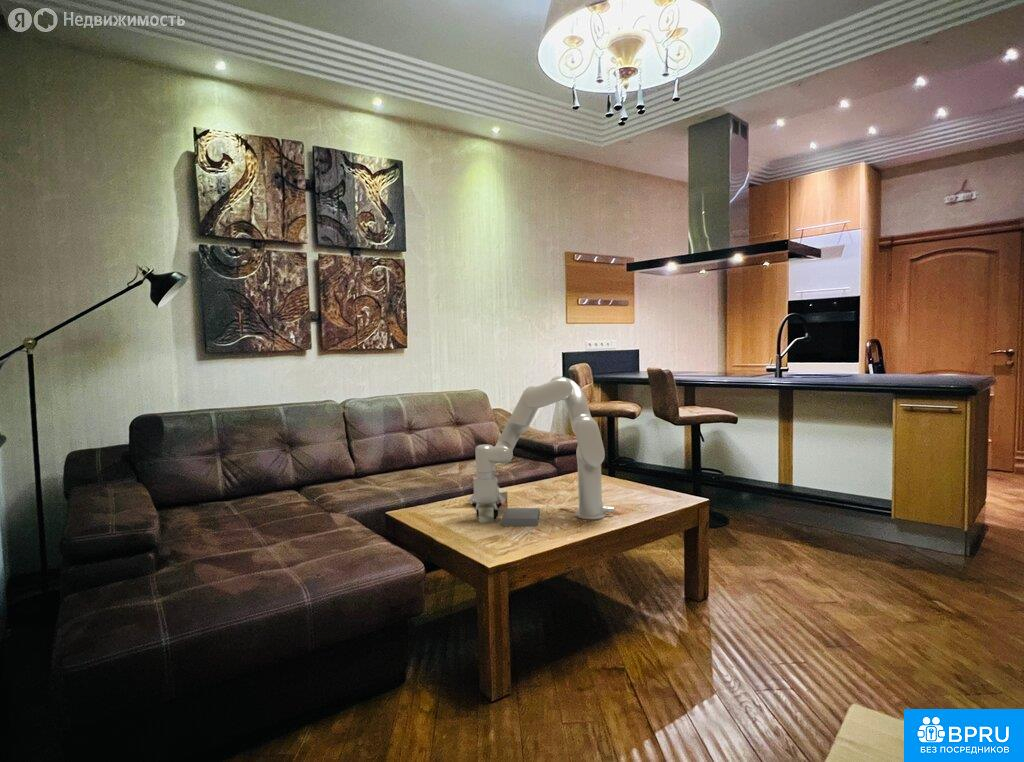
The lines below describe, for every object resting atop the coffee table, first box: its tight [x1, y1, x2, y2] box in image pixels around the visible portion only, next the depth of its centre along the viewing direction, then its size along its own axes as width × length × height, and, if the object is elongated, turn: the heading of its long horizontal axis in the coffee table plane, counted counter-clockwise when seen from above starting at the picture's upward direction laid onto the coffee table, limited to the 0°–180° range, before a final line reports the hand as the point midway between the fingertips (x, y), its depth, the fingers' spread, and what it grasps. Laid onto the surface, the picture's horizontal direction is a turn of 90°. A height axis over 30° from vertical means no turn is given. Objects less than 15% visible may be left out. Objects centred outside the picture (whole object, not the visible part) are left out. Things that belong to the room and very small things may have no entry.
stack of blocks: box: [472, 476, 509, 515], centre depth 242 cm, size 21×6×12 cm, turn 29°
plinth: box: [501, 507, 541, 527], centre depth 222 cm, size 14×14×3 cm
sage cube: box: [478, 504, 496, 524], centre depth 224 cm, size 6×6×6 cm
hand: (487, 518), depth 224 cm, fingers closed on sage cube, 6 cm apart
